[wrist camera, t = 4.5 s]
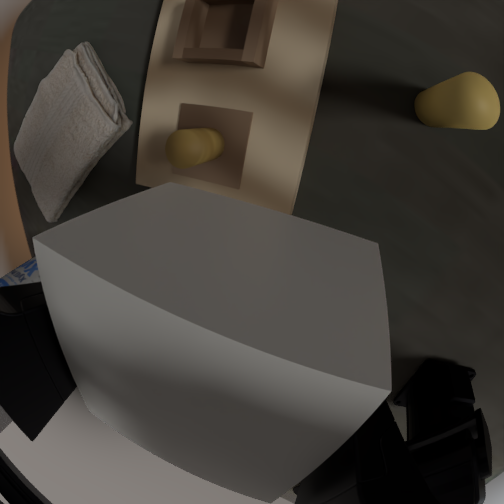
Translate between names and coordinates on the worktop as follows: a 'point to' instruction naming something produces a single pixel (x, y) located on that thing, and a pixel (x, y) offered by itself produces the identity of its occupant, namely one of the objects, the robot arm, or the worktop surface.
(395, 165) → the worktop surface
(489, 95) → the peg
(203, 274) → the grey rounded cube
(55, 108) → the washcloth
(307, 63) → the board
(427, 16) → the worktop surface
